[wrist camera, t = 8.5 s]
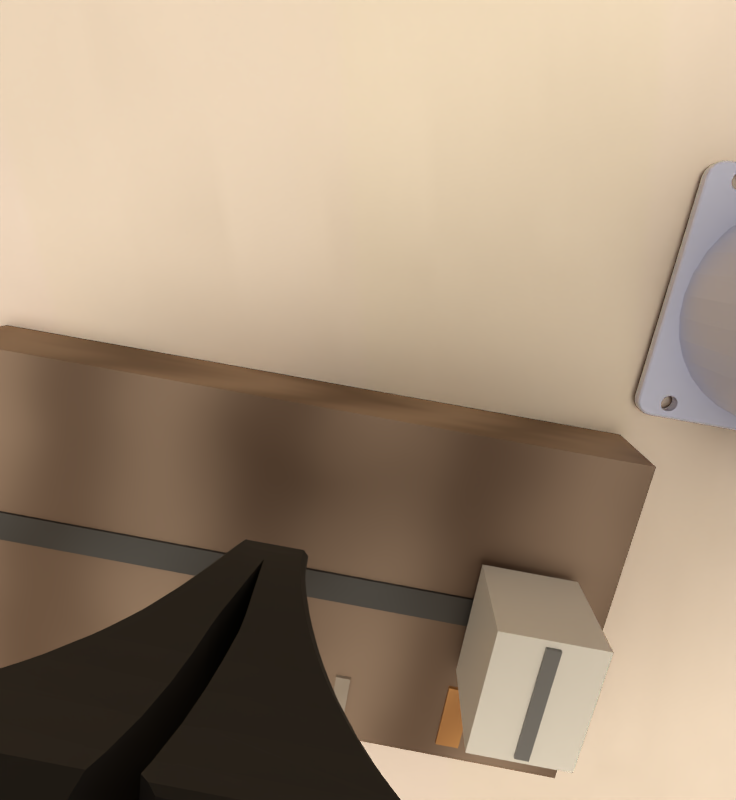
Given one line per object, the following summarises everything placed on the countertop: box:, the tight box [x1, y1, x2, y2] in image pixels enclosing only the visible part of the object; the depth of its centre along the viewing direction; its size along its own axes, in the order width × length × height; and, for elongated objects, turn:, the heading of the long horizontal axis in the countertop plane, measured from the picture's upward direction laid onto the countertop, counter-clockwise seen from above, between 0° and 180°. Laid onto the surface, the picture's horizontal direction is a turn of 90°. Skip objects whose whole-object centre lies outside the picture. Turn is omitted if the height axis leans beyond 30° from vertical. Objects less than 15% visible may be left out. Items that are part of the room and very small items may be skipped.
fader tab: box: [456, 564, 613, 773], centre depth 17 cm, size 3×4×3 cm
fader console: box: [0, 325, 656, 778], centre depth 20 cm, size 22×12×3 cm, turn 80°
